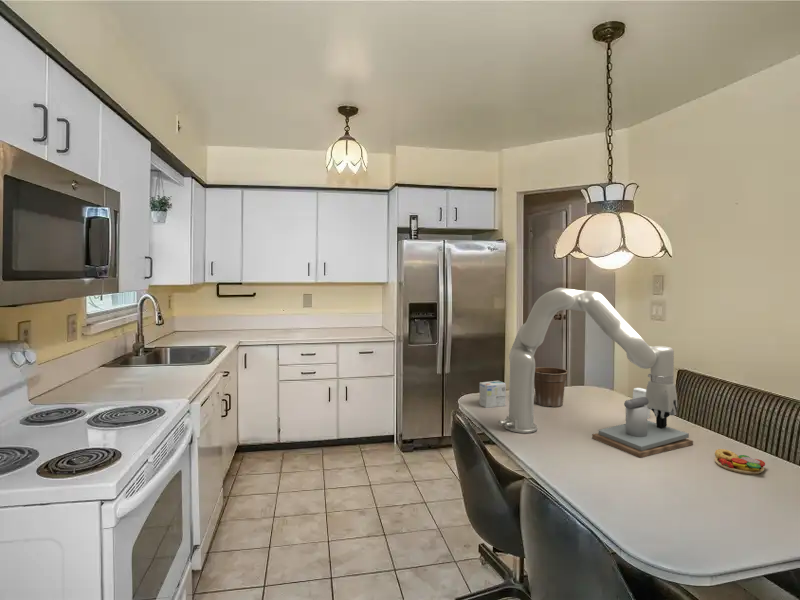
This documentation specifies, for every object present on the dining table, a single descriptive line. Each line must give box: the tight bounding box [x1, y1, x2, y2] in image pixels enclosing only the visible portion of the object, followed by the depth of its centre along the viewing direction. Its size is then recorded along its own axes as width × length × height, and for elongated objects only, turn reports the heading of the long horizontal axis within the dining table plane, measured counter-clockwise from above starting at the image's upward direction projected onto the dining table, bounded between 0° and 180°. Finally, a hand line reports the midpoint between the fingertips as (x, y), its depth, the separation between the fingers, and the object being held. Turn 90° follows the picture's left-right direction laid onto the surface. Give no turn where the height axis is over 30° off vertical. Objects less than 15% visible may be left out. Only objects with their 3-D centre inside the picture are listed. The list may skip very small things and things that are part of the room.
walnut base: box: [591, 432, 694, 458], centre depth 169 cm, size 28×20×2 cm
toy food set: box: [714, 448, 766, 475], centre depth 147 cm, size 13×13×3 cm
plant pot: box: [534, 366, 569, 408], centre depth 217 cm, size 16×16×16 cm
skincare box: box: [632, 387, 651, 419], centre depth 197 cm, size 6×4×12 cm
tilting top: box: [597, 397, 690, 451], centre depth 168 cm, size 25×18×14 cm
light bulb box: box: [479, 380, 507, 409], centre depth 214 cm, size 11×7×11 cm, turn 111°
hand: (661, 427), depth 173 cm, fingers closed
